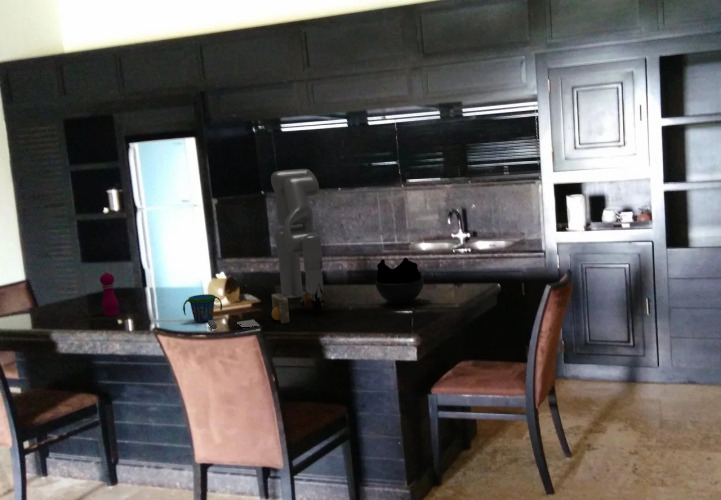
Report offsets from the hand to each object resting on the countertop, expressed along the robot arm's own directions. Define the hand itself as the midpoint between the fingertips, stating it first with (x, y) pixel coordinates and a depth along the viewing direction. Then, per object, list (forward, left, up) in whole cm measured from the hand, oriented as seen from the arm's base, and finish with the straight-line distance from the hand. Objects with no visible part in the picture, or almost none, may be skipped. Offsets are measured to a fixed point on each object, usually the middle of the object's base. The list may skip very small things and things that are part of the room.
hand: (317, 310), depth 308 cm
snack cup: (-18, -43, -2) cm, 47 cm away
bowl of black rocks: (+4, +35, -2) cm, 35 cm away
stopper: (-2, -42, -2) cm, 42 cm away
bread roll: (-19, +4, -2) cm, 20 cm away
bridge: (0, -15, -2) cm, 15 cm away
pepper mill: (-60, -78, -2) cm, 98 cm away
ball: (+1, -16, +1) cm, 16 cm away
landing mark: (0, -31, -2) cm, 31 cm away
